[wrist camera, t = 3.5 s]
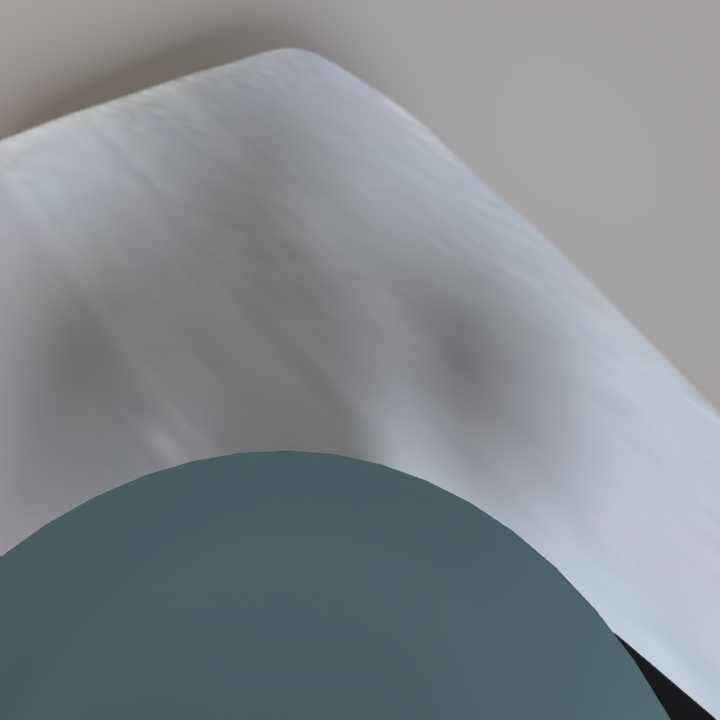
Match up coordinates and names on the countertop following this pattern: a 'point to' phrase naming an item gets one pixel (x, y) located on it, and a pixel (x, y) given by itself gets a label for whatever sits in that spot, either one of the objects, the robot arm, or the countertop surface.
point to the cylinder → (299, 605)
